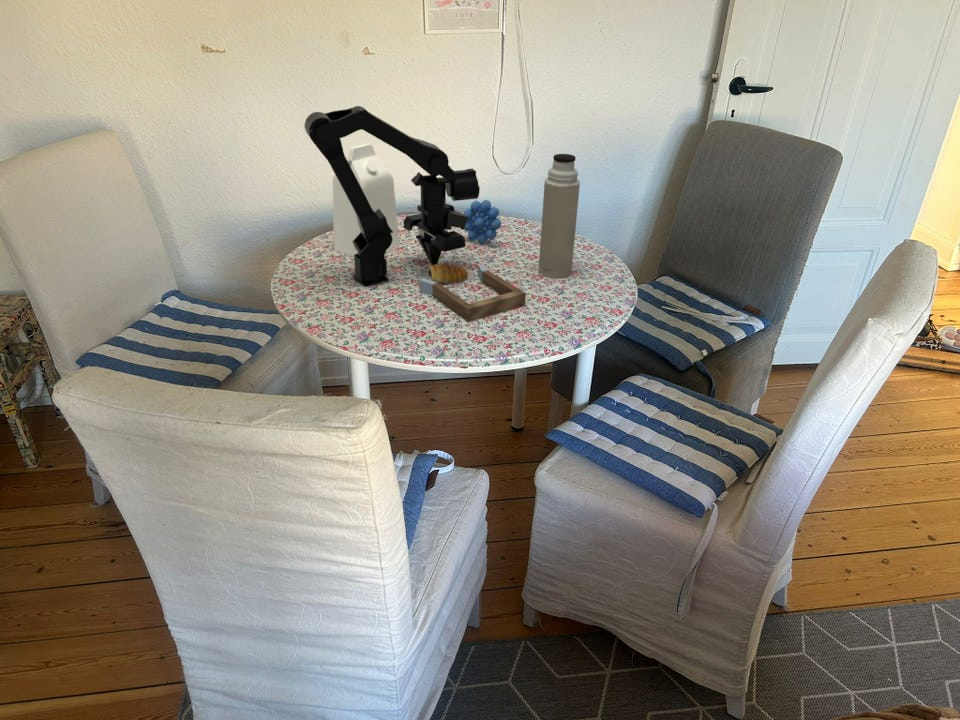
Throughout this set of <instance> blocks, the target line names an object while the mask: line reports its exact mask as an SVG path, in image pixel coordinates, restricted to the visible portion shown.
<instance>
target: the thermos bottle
mask: <svg viewBox="0 0 960 720" xmlns="http://www.w3.org/2000/svg"><path fill="white" fill-rule="evenodd" d="M575 161H576V156H575V155H573V154H568V153H558V154H554V155H553V161H552V167H550V168H549V169H548V170H547V171H548V172H547V177H546V178H545V179H544V187H543V188H544V189H543V198H542V199H543V200H542V216H541V227H540V228H541V231H540V241H539V242H540V245H539V258H538V259H539V261H538V273H539V274H540V275H541V274H542V276H543V275H544V277H546V278H551V279H565V278H568V277H569V276H571V274H572V272H573V260H574V259H573V258H574V249H575V237H576V227H577V218H578V207H579V195H580V186H581V182H580V180H579V179H578V176H579V173H578V170H577V169H575Z"/></svg>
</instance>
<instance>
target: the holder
mask: <svg viewBox="0 0 960 720" xmlns="http://www.w3.org/2000/svg"><path fill="white" fill-rule="evenodd" d="M477 277H479V278H478V280H479V281H480V283H481V282H482V283H483V284H482V283H481V284H482V285H484V284H485V285H486V286H485V285H484V286H485V287H487V286H488V287H487V288H489V287H490V288H491V289H490V288H489V289H490V290H492V289H493V290H494V292H495V291H496V292H497V293H496V292H495V293H496V294H498V293H499V294H498V295H496V296H492V297H489V298H485V299H482V300H477V301H474V302H471V303H469V302H467V301H465V300H464V299H463V298H461V297H459V296H458V295H456V294H455V293H453V292H452V291H451V290H449V289H448V288H446V287H445V286H443V284H441V285H440V284H439V283H437V282H434V281H431V280H430V279H429V278H425V277H423V278H420V279H418V284H419V285H418V287H419V288H418V290H419V293H420V292H422V293H421V294H423V293H425V294H424V295H426V294H428V295H427V296H429V295H431V296H430V297H432V296H433V297H432V298H433V299H435V298H436V299H437V300H436V299H435V300H436V301H438V302H439V303H441V304H442V305H444V306H445V307H446V308H448V309H450V310H451V311H452V312H454V314H456V315H458V316H459V317H460V318H462V319H463V320H465V321H466V322H467V323H470V322H472V321H476V320H479V319H483V318H486V317H490V316H493V315H496V314H500V313H503V312H506V311H509V310H510V311H511V310H514V309H517V308H521V307H524V306H526V295H527V294H526V293H527V292H525V291H523V290H522V289H520V288H518V287H516V286H515V285H513V284H511V283H510V282H509V281H506V280H504V279H503V278H502V277H500V276H498V275H497V274H494V273H493V272H491V271H490V270H489V269H488V268H487V267H486V265H485V264H484V263H481V264H479V263H477ZM493 290H492V291H493Z"/></svg>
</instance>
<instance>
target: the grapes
mask: <svg viewBox="0 0 960 720" xmlns="http://www.w3.org/2000/svg"><path fill="white" fill-rule="evenodd" d="M463 214H464V215H466V216H468V219H467V223H466V226H465V229H464V231H465V232H468V233H467V238H468V239H469V240H470V241H476V240H477V242H478V243H479V244H480V245H484V244H486V243H487V241H488V240H489V241H492V240H494V239H495V238H496V237H497V234H498V233H497V230H499V229H500V228H501V227H502V221H501V220H500V218H498V217H499V215H500V211H499V208H498V207H496V206H492V202H490V200H489V199H484V200H482V201H481V202H480V201H478V200H474V201H472V202H471V204H470V207H469V208H467V209H465V210H464V212H463Z"/></svg>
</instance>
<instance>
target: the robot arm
mask: <svg viewBox="0 0 960 720" xmlns="http://www.w3.org/2000/svg"><path fill="white" fill-rule="evenodd" d="M304 130H305V133H306V134H307V135H308V137H309V138H310V139H311V142H313V144H314V145H315V146H316V148H317V149H318V150H319V151H320V153H321V154H322V156H323V158H325V159H326V160H327V162H328V164H329V166H330V167H331V169H332V171H333V173H334V175H336V177H337V179H338V181H339V183H340V185H341V186H342V188H343V190H344V192H345V194H346V196H347V198H348V200H349V201H350V203H351V205H352V207H353V209H354V211H355V213H356V216H357V220H358V224H359V227H360V230H361V232H360V234H359V235H358V236H357V237H356V238H355V239H354V240H353V244H354V247H355V249H356V250H357V251H358V253H357V254H355V255H354V257H353V260H354V262H353V263H354V274H352V278H353V279H354V280H355V281H356V282H358V283H359V284H360V285H361V286H363V287H368V286H373V285H377V284H381V283H385V282H389V281H390V280H389V277H387V275H388V269H387V268H388V266H387V265H388V264H387V263H388V261H387V259H386V258H385V256H386V254H387V253H386V250H387V249H388V248H389V247H390V245H391V243H392V235H391V233H393V231H392V229H391V228H390V227H389V225H388V223H387V220H386V217H385V216H384V214H383V213H382V212H381V210H380V209H378V210H377V211H375V212H374V211H373V209H372V208H371V206H370V204H369V202H368V200H367V198H366V196H365V194H364V192H363V190H362V188H361V186H360V184H359V183H358V181H357V179H356V177H355V175H354V173H353V171H352V169H351V167H350V165H349V163H348V158H346V156H345V153H344V148H343V143H342V141H341V139H343V138H345V137H347V136H350V135H351V134H354V133H356V132H357V131H364V132H366V133H367V134H370V135H371V136H373V137H375V138H377V139H378V140H380V141H381V142H383V143H385V144H387V145H388V146H390V147H392V148H394V149H396V150H397V151H399V152H400V153H403V154H404V155H406V156H407V157H408V158H410V159H411V160H412V161H413V162H414V163H415V164H416V165H418V166H419V167H420V168H421V169H422V170H423V171H425V172H426V173H427V175H423V174H422V173H421V172H419V171H418V172H417V174H416V175H414V176H413V177H412V178H411V179H410V180H411V182H412V184H413V185H414V186H415V187H420V204H419V205H417V211H418V212H420V213H418V214H411V215H407V216H406V217H405V218H404V219H403V229H405V230H407V231H408V232H411V231H413V227H417V228H416V230H417V231H418V234H417V235H416V236H415V239H417V241H418V242H419V244H420V246H421V248H422V249H423V251H424V254H425V256H426V258H427V259H428V262H429V265H435V264H439V260H440V258H441V255H442V252H450V251H454V250H458V249H462V248H466V237H465V236H464V235H462V234H460V233H459V232H457V231H456V230H452V229H453V228H459V229H460V230H464V229H465V226H466V223H467V219H468V216H466V215H464V213H461V212H460V211H457V210H455V206H454V205H451V204H450V203H449V204H448V203H447V202H446V201H447V199H446V197H448V198H449V197H450V198H451V200H452V201H453V202H457V201H467V200H469V201H470V200H477V199H478V198H479V196H480V190H481V189H480V188H481V187H480V186H479V180H478V178H477V170H475V169H474V168H467V169H461V170H460V169H459V170H454V169H453V168H451V166H450V165H449V162H450V161H449V157H448V155H447V153H446V152H444V151H443V150H442V149H441V148H439V146H437V145H436V144H434V143H431V142H428V141H426V140H423V139H419V138H415V137H412V136H410V135H408V134H406V133H405V132H403V131H401V130H400V129H398V128H396V127H395V126H393V125H391V124H389V123H388V122H386V121H384V120H383V119H381V118H380V117H379V116H376V115H375V114H372V113H371V112H369V111H368V110H367V109H366V108H365V107H363V106H360V105H355V106H353V107H350V108H347V109H340V110H334V111H329V112H325V113H324V112H321V111H315V112H312V113H310V114H309V115H308V116H307V117H306V118H305V122H304ZM438 176H440V177H438ZM449 230H451V231H449ZM464 231H465V230H464Z"/></svg>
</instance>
